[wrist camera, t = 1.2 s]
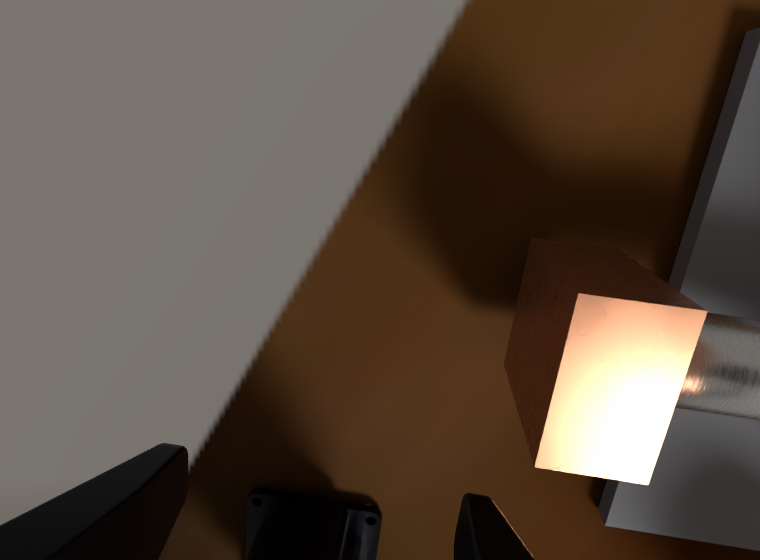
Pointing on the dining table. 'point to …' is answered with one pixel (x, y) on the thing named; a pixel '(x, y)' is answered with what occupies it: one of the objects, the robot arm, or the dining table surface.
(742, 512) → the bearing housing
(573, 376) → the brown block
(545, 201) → the dining table surface
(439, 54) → the dining table surface
